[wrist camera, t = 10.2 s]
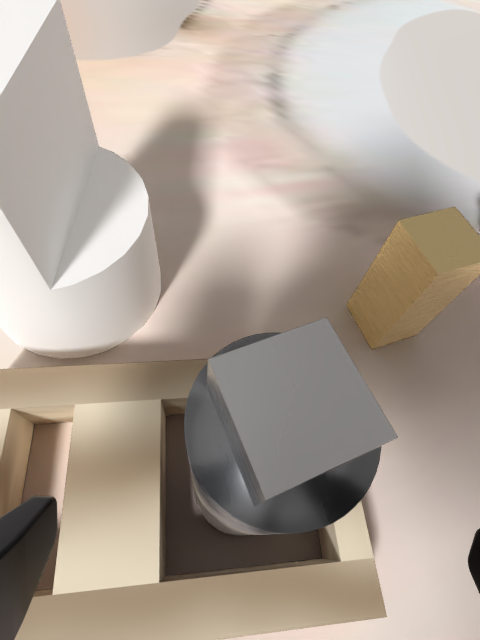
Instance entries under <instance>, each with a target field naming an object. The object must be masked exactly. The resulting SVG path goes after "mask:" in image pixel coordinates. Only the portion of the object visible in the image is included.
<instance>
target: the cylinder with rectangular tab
mask: <svg viewBox="0 0 480 640" xmlns="http://www.w3.org/2000/svg"><path fill="white" fill-rule="evenodd" d="M160 293H161V271H160V265H159V259H158V253H157V246H156V240H155V234H154V228H153V222H152V215H151V209H150V203H149V197H148V194H147V191H146V188H145V185H144V182H143V179H142V178H141V177H140V175H139V174H138V173H137V172H136V170H135V169H134V168H133V167H132V165H131V164H130V163H128V162H127V161H125V160H124V159H123V158H121V157H120V156H118V155H117V154H115V153H114V152H112V151H109V150H107V149H104V148H102V147H99V145H98V141H97V137H96V133H95V130H94V126H93V122H92V118H91V115H90V111H89V107H88V103H87V100H86V96H85V92H84V88H83V85H82V81H81V77H80V73H79V70H78V66H77V62H76V58H75V55H74V51H73V47H72V43H71V40H70V36H69V32H68V28H67V25H66V21H65V17H64V13H63V10H62V6H61V2H60V0H0V328H1V329H2V330H3V331H4V332H5V333H6V334H7V335H8V336H9V337H10V338H11V339H12V340H13V341H14V342H15V343H16V344H17V345H19V346H21V347H23V348H25V349H27V350H29V351H31V352H33V353H35V354H38V355H43V356H48V357H53V358H59V359H63V358H82V357H87V356H90V355H94V354H98V353H101V352H105V351H108V350H109V349H111V348H113V347H115V346H117V345H119V344H121V343H123V342H124V341H126V340H128V339H129V338H130V337H131V336H132V335H134V334H135V333H136V332H137V331H138V330H139V329H140V328H142V327H143V326H144V325H145V323H146V322H147V320H148V319H149V317H150V316H151V314H152V313H153V311H154V310H155V308H156V305H157V302H158V299H159V296H160Z"/></svg>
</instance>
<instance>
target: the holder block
mask: <svg viewBox="0 0 480 640" xmlns="http://www.w3.org/2000/svg"><path fill="white" fill-rule="evenodd" d="M207 362H208V359H196V360H176V361H156V362H136V363H116V364H96V365H76V366H57V367H37V368H17V369H0V517H2V516H3V515H5V514H6V513H8V512H10V511H11V510H13V509H14V508H16V507H17V506H19V505H21V500H22V494H23V488H24V482H25V476H26V470H27V464H28V458H29V452H30V446H31V440H32V434H33V428H34V424H45V423H60V422H73V425H72V433H71V442H70V450H69V458H68V467H67V475H66V484H65V492H64V501H63V509H62V517H61V526H60V534H59V543H58V551H57V560H56V568H55V576H54V585H53V589H51V590H42V591H35V593H34V596H33V598H32V601H31V603H30V606H29V608H28V611H27V613H26V615H25V618H24V620H23V623H22V625H21V627H20V629H19V631H18V633H17V635H16V637H15V639H14V640H220V639H228V638H235V637H243V636H250V635H257V634H265V633H272V632H280V631H287V630H294V629H302V628H309V627H317V626H324V625H331V624H339V623H346V622H354V621H361V620H369V619H376V618H383V617H387V615H386V611H385V606H384V602H383V597H382V592H381V588H380V583H379V579H378V574H377V570H376V565H375V561H374V556H373V552H372V547H371V543H370V538H369V534H368V529H367V525H366V520H365V515H364V511H363V506H362V502H361V500H360V502H359V503H358V504H357V505H356V506H355V507H354V508H353V509H352V510H351V511H350V512H349V513H347V514H346V515H345V516H344V517H342V518H341V519H339V520H337V521H336V522H334V523H333V524H330V525H328V526H325V527H323V528H321V529H318V534H319V540H320V546H321V552H322V558H323V559H314V560H305V561H296V562H288V563H279V564H270V565H261V566H252V567H244V568H235V569H226V570H217V571H209V572H200V573H191V574H182V575H174V576H165V494H166V415H180V414H185V407H186V403H187V399H188V395H189V393H190V390H191V388H192V385H193V383H194V381H195V379H196V378H197V376H198V374H199V372H200V371H201V370H202V368H203V367H204V366H205V365H206V363H207Z"/></svg>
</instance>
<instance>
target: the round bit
mask: <svg viewBox="0 0 480 640" xmlns="http://www.w3.org/2000/svg"><path fill="white" fill-rule="evenodd" d="M184 436H185V443H186V450H187V455H188V460H189V466H190V471H191V477H192V482H193V488H194V493H195V498H196V502H197V505H198V507H199V510H200V512H201V513H202V515H203V516H204V518H205V519H206V520H207V521H208V522H209V523H210V524H211V525H212V526H213V527H215V528H216V529H218V530H219V531H221V532H224V533H226V534H230V535H239V536H240V535H268V534H293V533H304V532H309V531H313V530H317V529H321V528H323V527H325V526H328V525H330V524H333V523H334V522H336V521H337V520H339V519H341V518H342V517H344V516H345V515H346V514H347V513H349V512H350V511H351V510H352V509H353V508H354V507H355V506H356V505H357V504H358V503H359V502H360V500H361V499H362V498H363V497H364V495H365V494H366V492H367V490H368V489H369V487H370V486H371V483H372V481H373V479H374V477H375V474H376V471H377V468H378V464H379V460H380V453H381V446H382V445H384V444H386V443H388V442H390V441H392V440H394V439H396V438H398V436H397V435H396V433H395V431H394V430H393V428H392V426H391V425H390V423H389V421H388V420H387V418H386V416H385V415H384V413H383V411H382V409H381V408H380V406H379V404H378V403H377V401H376V399H375V398H374V396H373V394H372V393H371V391H370V389H369V388H368V386H367V384H366V383H365V381H364V379H363V378H362V376H361V374H360V373H359V371H358V369H357V368H356V366H355V364H354V363H353V361H352V359H351V357H350V356H349V354H348V352H347V351H346V349H345V347H344V346H343V344H342V342H341V341H340V339H339V337H338V336H337V334H336V332H335V331H334V329H333V327H332V326H331V324H330V322H329V321H328V319H327V317H326V318H324V319H321V320H318V321H315V322H312V323H309V324H307V325H304V326H301V327H298V328H295V329H292V330H290V331H287V332H284V333H262V334H256V335H252V336H248V337H245V338H242V339H240V340H238V341H235V342H233V343H231V344H230V345H228V346H226V347H224V348H223V349H222V350H220V351H219V352H218V353H217V354H215V355H214V356H213V357H212V358H210V359H208V362H207V363H206V365H205V366H204V367H203V368H202V370H201V371H200V372H199V374H198V376H197V378H196V379H195V381H194V383H193V385H192V388H191V390H190V393H189V395H188V399H187V403H186V407H185V415H184Z"/></svg>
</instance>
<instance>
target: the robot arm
mask: <svg viewBox="0 0 480 640" xmlns="http://www.w3.org/2000/svg"><path fill="white" fill-rule="evenodd" d="M56 536H57V501H56V499H55V498H54V497H52V496H34V497H32V498H30V499H28V500H27V501H25V502H24V503H22V504H21V505H19V506H17V507H16V508H14V509H13V510H11V511H10V512H8V513H6V514H5V515H3V516H2V517H0V640H14V639H15V637H16V635H17V633H18V631H19V629H20V627H21V625H22V623H23V620H24V618H25V615H26V613H27V611H28V608H29V606H30V603H31V601H32V598H33V596H34V593H35V591H36V588H37V586H38V583H39V581H40V578H41V576H42V573H43V571H44V568H45V566H46V563H47V560H48V558H49V555H50V553H51V550H52V548H53V545H54V543H55V540H56ZM468 566H469V570H470V572H471V575H472V577H473V579H474V582H475V584H476V586H477V589H478V591H479V593H480V528H479V529H478V530H477V531H476V533H475V536H474V540H473V543H472V546H471V549H470V553H469V556H468Z"/></svg>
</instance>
